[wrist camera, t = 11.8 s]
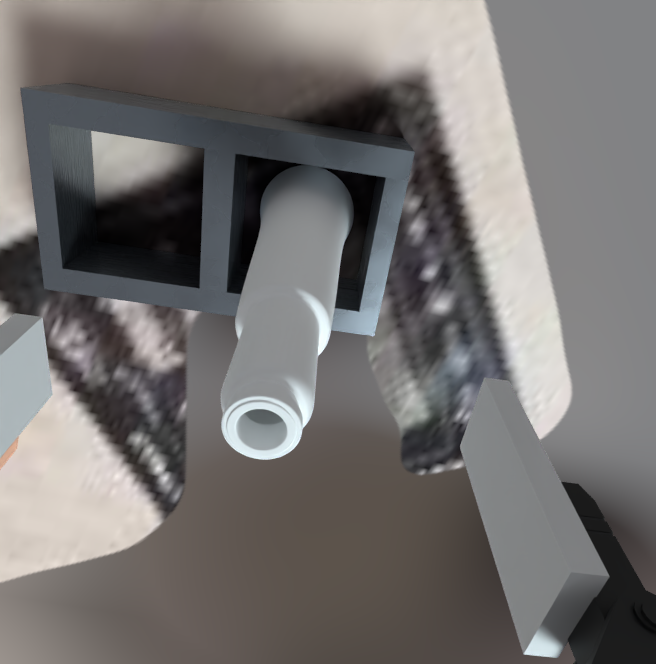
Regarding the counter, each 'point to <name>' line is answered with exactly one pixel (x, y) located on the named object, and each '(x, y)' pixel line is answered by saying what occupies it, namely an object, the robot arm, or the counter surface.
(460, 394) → the counter surface
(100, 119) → the square-hole rail
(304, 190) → the cosmetic bottle
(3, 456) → the pepper shaker
